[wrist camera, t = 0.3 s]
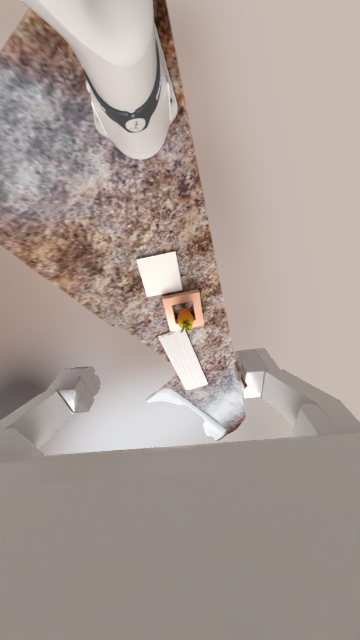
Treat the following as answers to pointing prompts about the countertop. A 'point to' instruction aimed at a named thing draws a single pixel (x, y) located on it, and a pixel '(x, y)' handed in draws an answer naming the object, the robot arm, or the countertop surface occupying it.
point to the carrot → (185, 319)
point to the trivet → (160, 274)
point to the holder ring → (179, 299)
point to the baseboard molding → (183, 358)
